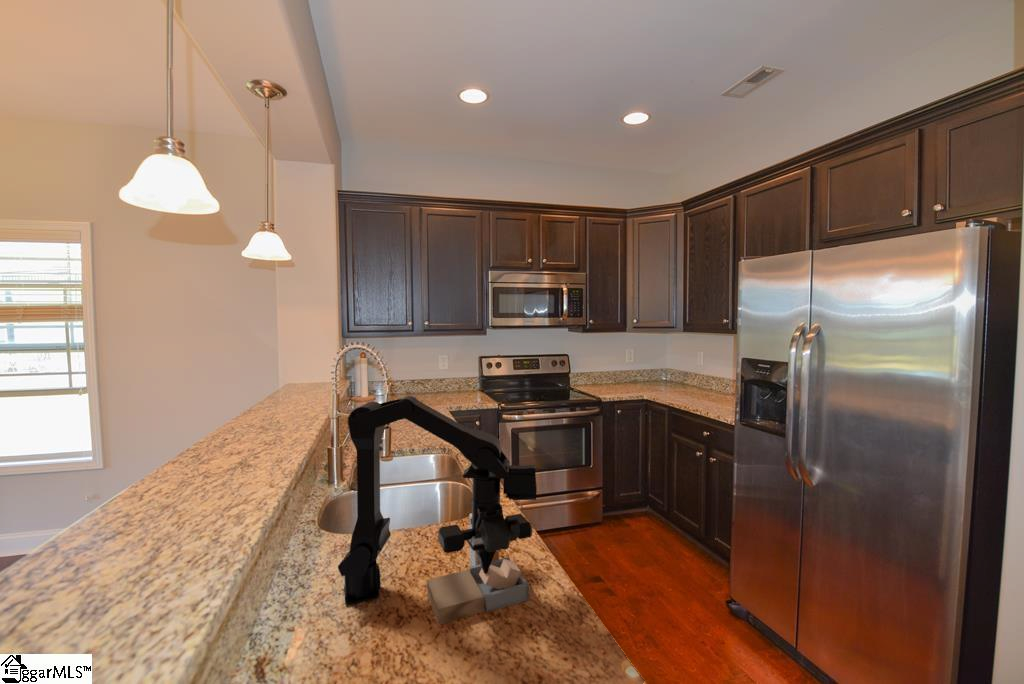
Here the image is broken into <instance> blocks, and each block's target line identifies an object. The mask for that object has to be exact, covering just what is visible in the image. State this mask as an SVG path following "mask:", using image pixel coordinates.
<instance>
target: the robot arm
mask: <svg viewBox="0 0 1024 684" xmlns="http://www.w3.org/2000/svg"><path fill="white" fill-rule="evenodd" d="M404 419H405V420H406V421H409V422H410V423H412V424H414V425H416V426H418V427H420V428H421V429H423V430H425V431H427V432H428V433H430V434H432V435H434V436H435V437H437V438H439V439H441V440H443V441H444V442H446V443H448V444H450V445H452V446H453V447H455V448H456V450H458V451H459V452H460V454H461V455H462V456H463V457H464V458H465V459H466V460H468V461H469V463H470V465H469V466H468V467H466V469H464V471H463V475H462V478H464V479H472V489H471V490H472V495H471V496H472V498H470V505H471V513H472V518H471V520H470V519H469V524H470V523H471V525H472V529H470V528H468V529H461V528H460V526H459V525H458V524H452V525H447V526H441V527H440V528H439V530H438V531H437V540H438V542H439V545H440V547H441V549H442V551H443V553H446V554H451V553H455V552H460V551H462V550H463V548H464V547H465V543H466V542H467V543H468V545H469V548H470V547H471V548H472V550H474V551H476V552H477V555H478V558H479V561H480V564H481V566H482V569H483V572H484V574H486V573H487V572H488V570H489V567H490V564H491V562H492V559H493V557H494V554H495V552H496V550H499V551H500V550H503V551H504V550H507V549H509V547H510V543H511V542H514V541H517V539H518V540H521V539H522V540H523V539H527V538H531V537H532V535H533V526H532V523H531V522H530V521H529V520H527V519H526V517H525V516H523V514H522V513H517V514H510V515H506V516H505V517H504V514H503V512H504V511H503V505H501V480H503V482H502V483H503V485H502V487H503V489H502V490H503V495H505V497H506V499H507V498H508V500H509V501H510V500H512V501H513V500H516V501H520V500H521V501H537V489H538V488H537V478H536V473H537V472H536V465H535V464H527V465H513V464H511V461H510V460H509V458H508V457H507V456H506V454H505V453H504V452H503V450H502V444H501V441H500V440H499V438H498V437H497V436H496V435H494V434H492V433H488V432H485V431H482V430H480V429H474V428H471V427H466V426H465V425H462V424H461V423H459V422H458V421H455V420H454V419H452V418H450V417H449V416H447V415H445V414H443V413H441V412H440V411H438V410H436V409H434V408H432V407H430V406H429V405H427V404H426V403H423V402H422V401H420V400H419V399H417V398H416V397H415V396H413V395H407V396H404V397H403V398H402V397H401V398H397V399H393V400H388V401H384V402H380V403H379V402H378V401H374V400H373V401H368V402H366V403H364V404H362V405H360V406H359V407H356V408H355V409H353V410H352V411H351V412H350V414H349V415H348V418H347V425H348V430H349V437H350V439H351V442H352V443H353V445H354V447H355V450H356V499H357V500H356V505H357V506H356V510H357V515H356V517H357V518H356V522H355V525H354V528H353V532H352V534H351V538H350V539H351V541H350V545H349V546H350V547H349V551H347V553H346V555H345V556H344V558H343V559H342V560H341V561H340V563H339V564H338V565H337V568H338V572H339V573H340V576H342V577H344V586H343V591H344V593H343V594H344V603H345V604H344V605H345V606H350V605H353V604H358V603H361V602H365V601H369V600H373V599H377V598H379V597H380V592H379V590H380V589H381V569H380V565H379V563H377V558H378V557H379V555H380V553H381V552H382V551H383V549H384V547H385V545H386V544H387V542H388V541H389V538H390V537H391V536H392V535H391V534H392V533H391V531H390V523H391V517H386V518H384V517H383V514H382V513H381V475H380V474H381V472H380V471H381V467H380V465H381V464H380V463H381V461H380V460H381V459H380V457H381V456H380V455H381V454H380V453H381V452H380V450H381V449H380V447H381V443H382V442H381V441H382V439H383V436H384V432H385V430H386V425H389V424H392V423H395V422H397V421H400V420H404ZM465 541H466V542H465Z"/></svg>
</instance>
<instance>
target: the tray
mask: <svg viewBox="0 0 1024 684" xmlns="http://www.w3.org/2000/svg"><path fill="white" fill-rule="evenodd" d="M503 559H506V560H510V561H512V560H511V559H510V558H509V557H504V558H499V560H495V561H492V562H491V564H490V565H493V566H496V567H499V568H500V567H501V564H502V562H503ZM468 569H469V571H470V573H471V575H472V576H473V578H474V580H475V582H476V583H477V585H478V587H479V589H480V590H481V592H482V594H483V596H484V612H486V613H490V611H491V612H493V611H497V610H500V608H501V609H504V608H507V607H511V606H514V605H518V604H520V603H523V602H527V601H530V583H529V582H528V581H527V580H526V578H525V577H524V576H523V575H522V573H521V572H520V575H519V577H518V580H517V583H516V585H515V586H513V587H509V588H502V590H501V589H497V588H494V587H491V586H487V585H485V584H484V582H483V580H482V579H481V577H480V575H479V573H480V571H481V569H482V566H481V564H479V565H475V566H472V565H471V566H469V567H468Z"/></svg>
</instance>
